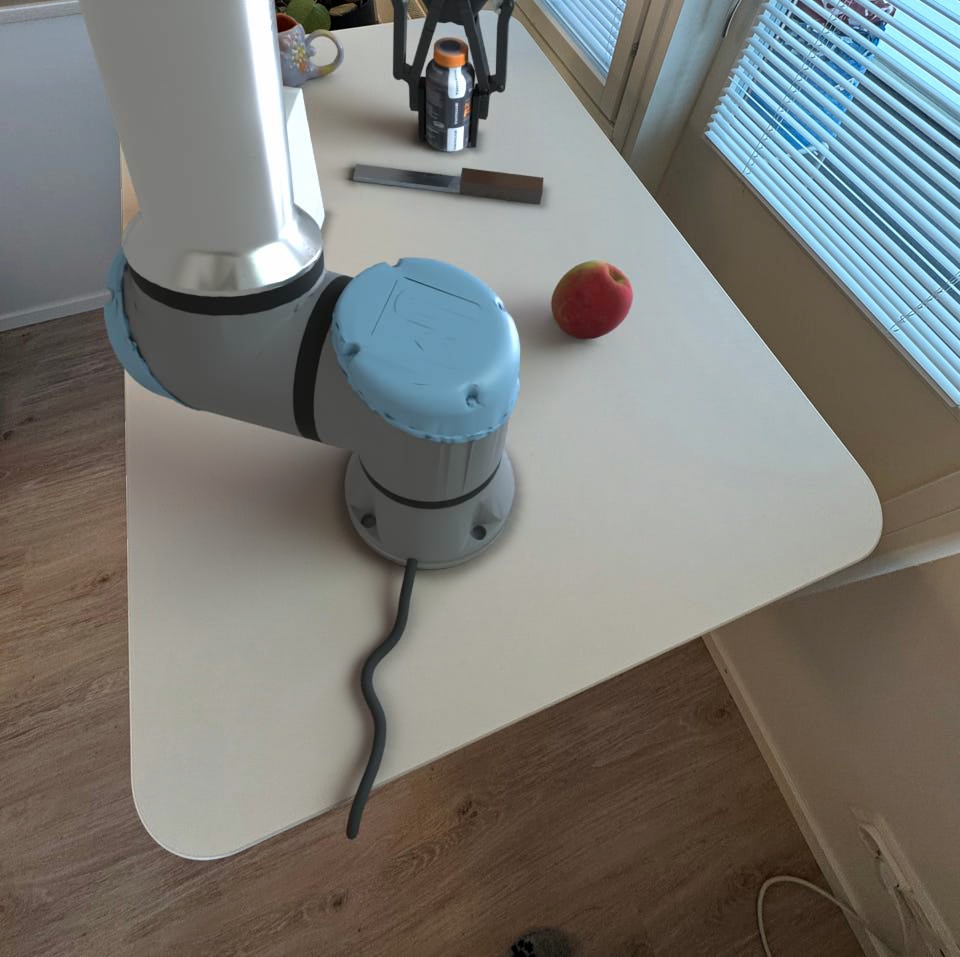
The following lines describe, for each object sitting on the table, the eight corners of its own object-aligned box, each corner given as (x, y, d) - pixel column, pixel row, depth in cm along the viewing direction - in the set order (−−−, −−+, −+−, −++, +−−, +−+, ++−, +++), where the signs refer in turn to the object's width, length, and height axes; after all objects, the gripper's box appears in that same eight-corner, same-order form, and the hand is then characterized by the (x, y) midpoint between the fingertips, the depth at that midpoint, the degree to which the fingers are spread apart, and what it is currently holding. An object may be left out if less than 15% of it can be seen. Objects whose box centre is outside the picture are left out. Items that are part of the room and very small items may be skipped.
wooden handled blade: (541, 190, 79) (543, 177, 77) (540, 204, 78) (542, 191, 76) (357, 167, 78) (355, 154, 77) (353, 181, 77) (351, 168, 75)
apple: (613, 362, 67) (635, 309, 60) (539, 343, 67) (552, 288, 60) (624, 310, 70) (646, 254, 63) (554, 292, 71) (568, 235, 64)
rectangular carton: (327, 214, 74) (305, 85, 61) (310, 270, 70) (282, 144, 57) (250, 204, 74) (210, 72, 61) (228, 259, 70) (181, 131, 56)
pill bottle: (471, 154, 81) (477, 62, 71) (424, 152, 80) (423, 58, 70) (471, 125, 84) (476, 32, 74) (426, 122, 83) (425, 28, 73)
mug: (253, 90, 84) (239, 36, 78) (259, 60, 87) (247, 6, 81) (345, 95, 85) (338, 42, 79) (348, 65, 88) (342, 12, 82)
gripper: (553, -92, 63) (522, 128, 84) (364, -117, 63) (380, 110, 83) (550, -55, 60) (519, 164, 80) (350, -81, 59) (370, 146, 80)
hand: (448, 136), depth 82 cm, fingers closed on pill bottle, 6 cm apart
